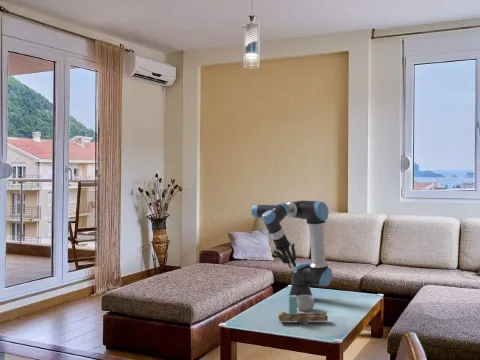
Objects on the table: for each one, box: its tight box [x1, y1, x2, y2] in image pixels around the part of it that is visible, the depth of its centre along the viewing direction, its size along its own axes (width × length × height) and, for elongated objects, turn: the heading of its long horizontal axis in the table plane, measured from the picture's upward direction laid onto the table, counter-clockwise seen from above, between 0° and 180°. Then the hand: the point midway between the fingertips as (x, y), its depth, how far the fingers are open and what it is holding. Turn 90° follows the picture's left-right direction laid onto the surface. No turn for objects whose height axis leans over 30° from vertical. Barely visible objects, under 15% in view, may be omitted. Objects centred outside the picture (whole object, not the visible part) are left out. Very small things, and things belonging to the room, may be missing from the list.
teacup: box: [297, 295, 315, 312], centre depth 314 cm, size 14×11×8 cm
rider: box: [288, 294, 298, 316], centre depth 287 cm, size 4×4×12 cm
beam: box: [277, 311, 329, 326], centre depth 288 cm, size 26×7×6 cm, turn 92°
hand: (295, 271), depth 298 cm, fingers closed
